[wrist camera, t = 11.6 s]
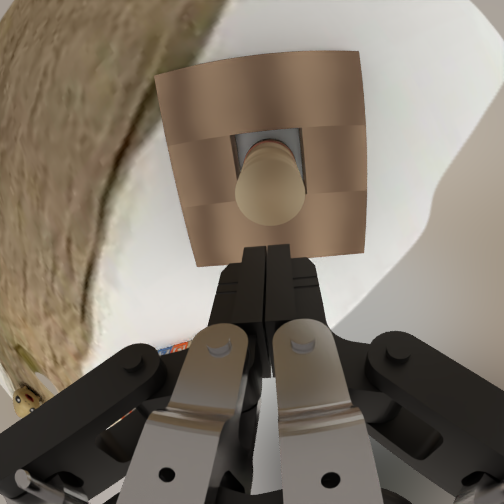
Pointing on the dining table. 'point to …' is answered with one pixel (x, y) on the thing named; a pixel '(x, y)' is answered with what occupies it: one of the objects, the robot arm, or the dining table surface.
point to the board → (262, 119)
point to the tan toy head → (25, 401)
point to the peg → (270, 184)
